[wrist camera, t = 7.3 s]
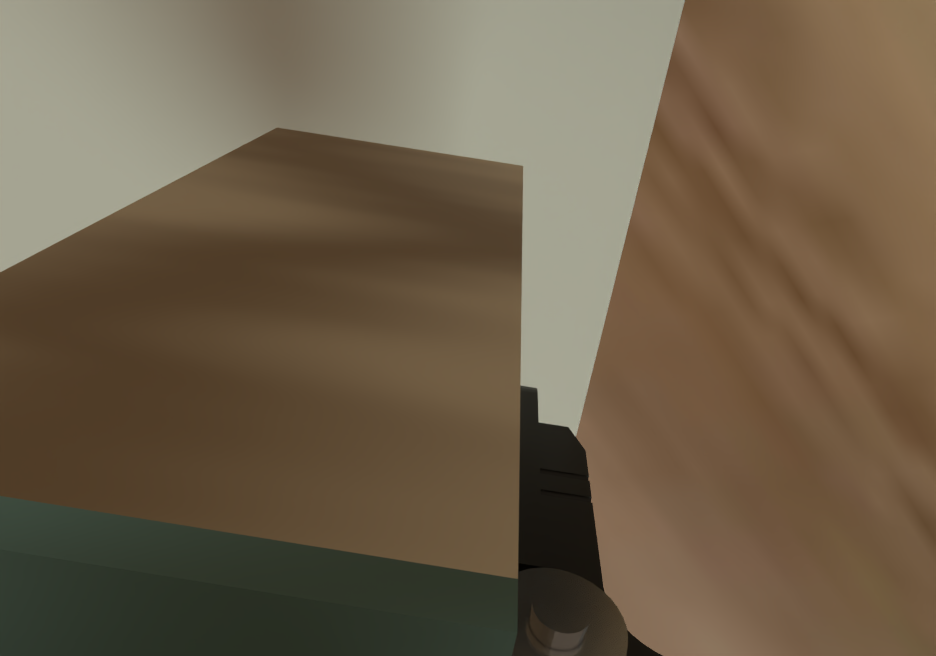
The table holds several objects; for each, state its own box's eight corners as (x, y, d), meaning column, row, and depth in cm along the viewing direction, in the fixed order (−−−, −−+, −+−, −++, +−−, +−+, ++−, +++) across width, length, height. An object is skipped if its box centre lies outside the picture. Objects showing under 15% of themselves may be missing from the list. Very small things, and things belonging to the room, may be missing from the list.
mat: (699, -85, 15) (707, -88, 14) (555, 500, 22) (556, 512, 21) (-126, -210, 15) (-150, -217, 14) (-4, 410, 22) (-18, 420, 21)
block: (522, 166, 11) (517, 634, 3) (464, 504, 14) (381, 1191, 6) (276, 127, 11) (-404, 484, 3) (271, 474, 14) (-69, 1113, 6)
